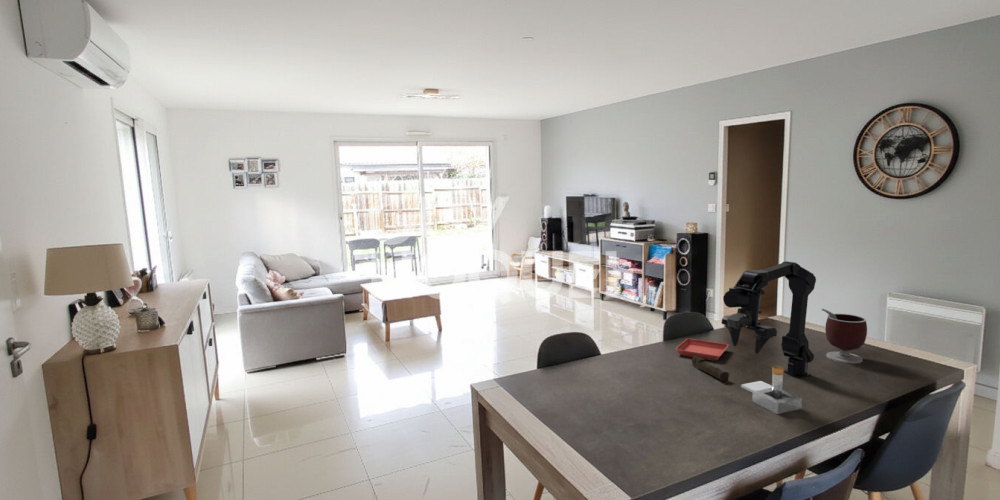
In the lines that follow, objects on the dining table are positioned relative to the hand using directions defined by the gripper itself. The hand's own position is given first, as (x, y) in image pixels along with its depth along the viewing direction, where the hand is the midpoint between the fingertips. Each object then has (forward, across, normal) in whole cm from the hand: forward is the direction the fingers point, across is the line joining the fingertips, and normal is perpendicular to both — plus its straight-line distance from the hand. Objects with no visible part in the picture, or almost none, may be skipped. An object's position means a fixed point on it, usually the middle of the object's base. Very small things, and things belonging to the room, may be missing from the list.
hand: (745, 349), depth 175 cm
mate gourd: (+8, -4, +60) cm, 61 cm away
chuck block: (+14, +15, -1) cm, 21 cm away
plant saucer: (+13, -34, +16) cm, 40 cm away
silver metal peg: (+14, +15, -1) cm, 21 cm away
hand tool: (+15, -16, 0) cm, 22 cm away
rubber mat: (+14, +4, +5) cm, 15 cm away
